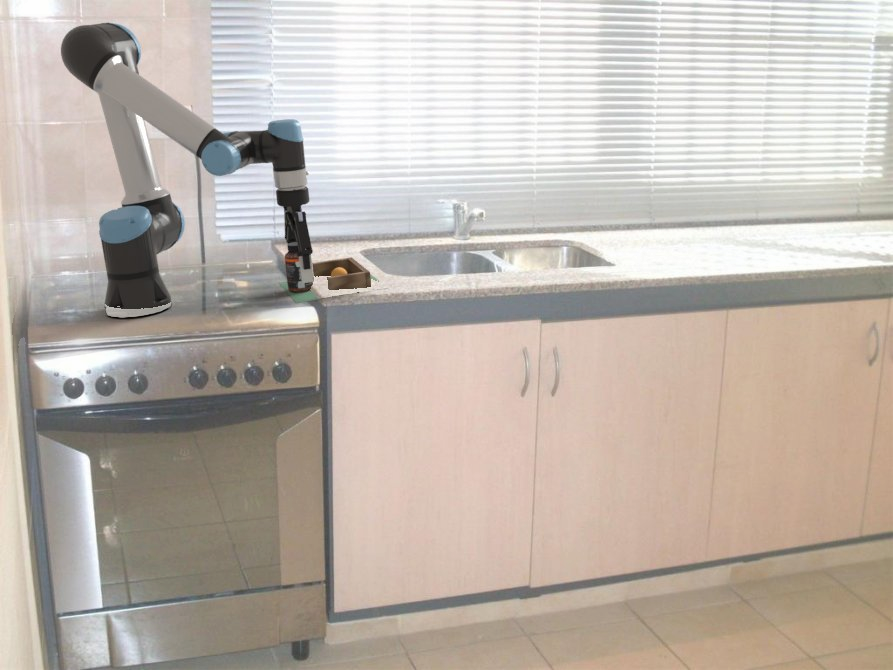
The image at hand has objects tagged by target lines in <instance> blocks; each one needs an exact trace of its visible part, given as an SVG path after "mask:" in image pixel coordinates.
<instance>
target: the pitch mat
mask: <svg viewBox="0 0 893 670" xmlns="http://www.w3.org/2000/svg"><path fill="white" fill-rule="evenodd" d="M370 278H371V279H373V280H375V281H377V280H378V282H379V281H380V280H379V279H377V278H376V277H375V276H373V274H371V273H370ZM279 285H280V286H281V287H282V288H283V289H284V291H285V292H286V293H287V294H288V295H289V296H290V298H291V299H292V301H294V302H295V303H296V304H297V303H298V304H299V303H303V302H310V301H311V302H312V301H318V300H319V299H318V298H317V297H316V296H315V295H314V293H313V292H312V291H311V290H309V291H305V292H291V291H289V289H288V283H287V281H283V282H279Z"/></svg>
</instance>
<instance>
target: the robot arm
mask: <svg viewBox="0 0 893 670" xmlns="http://www.w3.org/2000/svg"><path fill="white" fill-rule="evenodd" d="M141 55H142V50H141V45H140V43H139V40H138V39H137V37H136V35H135V33H133V32H132V31H131V30H130V29H129V28H127V27H126V26H124V25H122V24H119V23H112V22H101V23H97V24H96V23H95V24H82V25H78V26H75V27H74V28H71V29H70V30H69V31H68V32H67V33H66V34H65V36H64V37H63V39H62V42H61V44H60V56H61V61H62V62H63V65H64V66H65V68H66V70H67V71H68V72H69V73H70V74H71V75H72V76H73V77H74V78H76V79H77V80H79V81H80V82H81V83H82V84H83V85H85V86H86V87H88V88H90V89H91V90H92V91H94V92H95V93H96V94H97V95H98V97H99V101H100V105H101V108H102V112H103V115H104V120H105V124H106V127H107V131H108V135H109V139H110V142H111V145H112V149H113V152H114V156H115V160H116V164H117V169H118V171H119V172H118V173H119V175H120V178H121V182H122V186H123V191H124V197H123V198H122V200H121V202H120V204H121V207H117V209H116V208H115V209H111V210H109V211H107V212H105V213H104V214H103V215H102V216H100V218H99V220H98V226H99V231H98V232H99V233H98V234H99V237H100V243H101V248H102V253H103V259H104V265H105V269H106V276H107V287H106V293H105V298H104V299H105V300H104V304H106V305H107V306H109V307H114V308H121V309H141V308H143V309H144V308H153V307H158V306H162V305H166V304H168V303H170V302H172V297H171V295H170V292H169V290H168V288H167V286H166V284H165V283H164V280H163V279H162V277H161V274H160V269H159V262H158V256H157V255H159V254H161V253H162V252H163V251H165V252H166V251H168V250H169V249H171V248H172V247H173V246H175V244H177V243H178V242H179V241H180V239H181V238H182V236H183V234H184V231H185V226H186V224H185V223H186V221H185V217H184V214H183V212H182V210H181V208H180V207H179V206H178V205H176V203H174V201H173V200H172V197H171V196H172V195H171V193H170V191H169V190H167V189H166V188H164V187H163V186H162V183H161V180H160V176H159V171H158V168H157V163H156V161H155V156H154V153H153V152H154V151H153V149H152V145H151V144H152V143H151V142H150V138H149V133H148V130H147V126H146V125H147V124H146V123H148V124H149V125H151V126H153V127H154V128H155V129H157V130H158V131H159V132H161V133H162V134H164V135H165V136H167V137H168V138H169V139H171V140H173V141H174V142H175V143H176V144H178V145H180V147H182V148H184V149H186V150H187V151H188V152H190V153H191V154H193V155H194V156H196V157H197V158H198V159H200V160H201V164H202V166H203V167H204V169H205V171H206V172H208V173H209V174H211V175H212V176H216V177H221V176H227V175H231V174H233V173H235V172H236V171H238V170H240V169H243V168H244V167H246V166H249V165H255V164H256V165H257V164H271V163H272V174H273V181H274V187H275V188H277V189H276V190H275V196H276V204H277V205H278V206H279V207H282V208H283V213H284V215H283V216H284V239H285V241H286V243H287V245H288V244H289V243H293V242H297V245H298V249H299V253H297V257H299V262H300V271H301V280H302V283H308V282H314V275H313V266H312V263H313V262H312V254H313V253H314V250H313V248H312V242H311V237H310V236H311V235H310V232H309V227H308V223H307V213H306V212H305V211H303V210H302V206H303V205H307V204H309V202H310V193H309V188H308V186H307V185H308V177H307V176H309V175H310V172H309V171H308V170H306V169H307V167H306V166H307V165H306V158H305V147H304V145H305V144H304V138H303V132H302V127H301V123H300V121H298V120H297V119H292V118H291V119H277V120H272V121H270V122H268V124H267V129H265V130H250V131H249V130H247V131H246V130H244V131H243V130H241V131H238V130H234V131H230V132H229V131H228V132H222V131H220V130H218V129H217V128H216V127H214V126H213V125H212V124H210V123H209V122H208V121H206V120H205V119H203V118H201V116H199V115H197V114H196V113H194V112H193V111H191V109H189V108H187V107H186V106H184V105H183V104H181V103H180V102H179V101H178V100H176V99H174V98H173V97H172V96H170V95H169V94H168V93H166V92H164V91H163V90H161V89H160V88H159V87H157V86H156V85H154V84H153V83H152V82H150V81H149V80H147V79H146V78H144V77H143V76H141V75H140V72H139V68H138V64H139V63H140V60H141ZM117 306H120V307H117Z"/></svg>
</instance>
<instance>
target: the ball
mask: <svg viewBox="0 0 893 670" xmlns="http://www.w3.org/2000/svg"><path fill="white" fill-rule="evenodd" d="M345 274H347V272H346V270H345V269H343V268H340V267H338V268H335V269H334V270H333V271H332V273H331V277H332V276H339V275H345Z"/></svg>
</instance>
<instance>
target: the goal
mask: <svg viewBox="0 0 893 670" xmlns="http://www.w3.org/2000/svg"><path fill="white" fill-rule="evenodd" d="M338 267H340V268H343V269H345V270H346V272H347V274H345V275H339V276H332V277H327V280H328V289H329V290H339V289H354V288H355V289H357V288H367V287H371V278H370V274H371V271H369V270H368V269H366V268H365V267H364V266H363V265H362V264H361V263H359V262H358V261H357V260H355V259H354V258H353V256H350V257H345V258H338V259H331V260H325V261H319V262H318V261H317V262H312V269H313V277H314V276H315V277H316V276H318V277H319V276H331V273H332V271H333V270H334V269H335V268H338Z"/></svg>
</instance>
